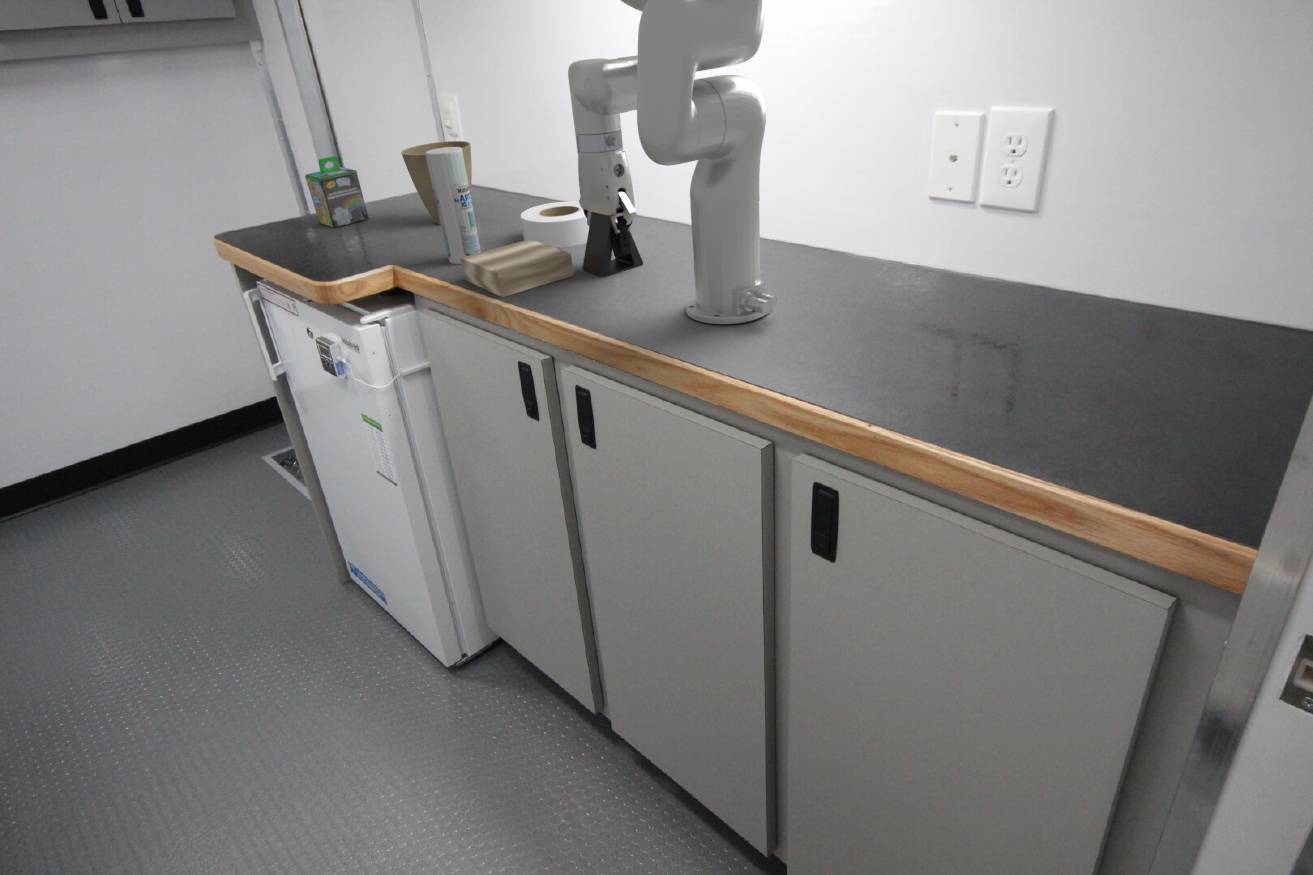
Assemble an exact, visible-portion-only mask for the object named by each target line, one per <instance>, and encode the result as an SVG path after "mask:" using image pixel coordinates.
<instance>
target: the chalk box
mask: <svg viewBox="0 0 1313 875" xmlns="http://www.w3.org/2000/svg"><path fill="white" fill-rule="evenodd" d="M327 163H333V165H332V167H329V168H328V167H326V164H327ZM318 165H319V170H318V171H314V172H311V173H306V174H305V176H304V177H305V181H306V184H307V188H308V190H309V194H310V196H311V201H312V204H313V208H314V210H315V213H316V217H317V220H318V223H319V224H322V225H325V226H326V227H327V226H328V227H331V228H333V229H336V228H339V227H343V226H347V225H351V224H356V223H360V222H364V221H369V214H368V211H367V208H366V207H367V206H366V203H365V199H364V196H363V195H364V194H363V191H362V187H361V183H360V179H359V176H358V170H354V169H351V168H347V167H343V166H340V159H339V157H338V156H337V155H333V156H326V157H322V158H320V159H318Z"/></svg>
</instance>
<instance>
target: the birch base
mask: <svg viewBox="0 0 1313 875" xmlns="http://www.w3.org/2000/svg"><path fill="white" fill-rule="evenodd" d="M572 260H573V258H572V253H571V252H569V251H566V250H563V249H561V248H554V247H551V246H548V245H545V244H542V243H539V242H536V241H533V240H530V239H529V240H525V241H524V240H522V241H518V242H516V243H515V242H514V243H512V244H511V243H510V244H507V245H504V246H500V247H499V246H498V247H496V248H492V249H489V250H484V251H481V252H480V253H477V254H473V255H469V256H465V257H462V258H461V263H462V264H461V268H462V272H463V277H464V280H465V281H466V280H467V281H466V282H468V283H471V284H473V285H475V286H476V287H479V288H481V287H482V289H483V290H486V291H488V292H489V293H490V292H491V293H493V294H495V295H497V296H499V297H502V298H505V297H507V296H511V295H514V294H518V293H521V292H525V291H527V290H528V291H529V290H531V289H534V288H538V287H541V286H544V285H548V284H550V283H551V284H552V283H554V282H557V281H561V280H564V279H567V278H571V277H573V276H575V275H574V273H575V272H574V267H573V261H572Z"/></svg>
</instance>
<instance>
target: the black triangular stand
mask: <svg viewBox="0 0 1313 875" xmlns="http://www.w3.org/2000/svg"><path fill="white" fill-rule="evenodd" d="M616 212H617V213H620V210H616ZM621 219H622V216H621V217H618V218H617V222H618V224H619V222H620V220H621ZM612 233H614V230H613V227H612V224H611V218H610V216H605V215H601V214H597V213H594V212H592V213H591V220H590V226H589V232H588V238H587V243H585V245H586V246H585V251H584V257H583V263H582V271H584V272H586V273H590V274H592V275H594V276H598V277H600V278H606V277H609V276H612V275H615V274H618V273H622V272H626V271H628V270H631V269H635V268H638V267H641V266H643V265H644V261H643V259H642V257H641V254H640V252H639V250H638V247H637V244H636V242H635V240H634V238H633V235H632V233H631V230H630V231H629V238H630V248H631V252H630V253H629V254H626V255H623V256H619V257H616V256H614V259H612V255H613V254H614V251H613V241H612Z"/></svg>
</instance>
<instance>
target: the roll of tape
mask: <svg viewBox="0 0 1313 875" xmlns="http://www.w3.org/2000/svg"><path fill="white" fill-rule="evenodd" d="M519 216H520V223H521V229H522V236H523V241H525V240H529V239H530V240H533V241H536V242H539V243H542V244H545V245H548V246H551V247H554V248H557V249H561V248H571V247H575V246H580V245H584V244H585V245H586V244H587V238H588V232H589V226H588V225H587V218H586V216H585V214H584V211H583V209H582V208H581V206H580V204H579V200H573V201H571V200H568V201H559V202H558V201H556V202H549V203H544V204H539V205H536V206H533V207H529V208H527V209H525V210H523V211H522V212H521V213H520V215H519Z"/></svg>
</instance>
